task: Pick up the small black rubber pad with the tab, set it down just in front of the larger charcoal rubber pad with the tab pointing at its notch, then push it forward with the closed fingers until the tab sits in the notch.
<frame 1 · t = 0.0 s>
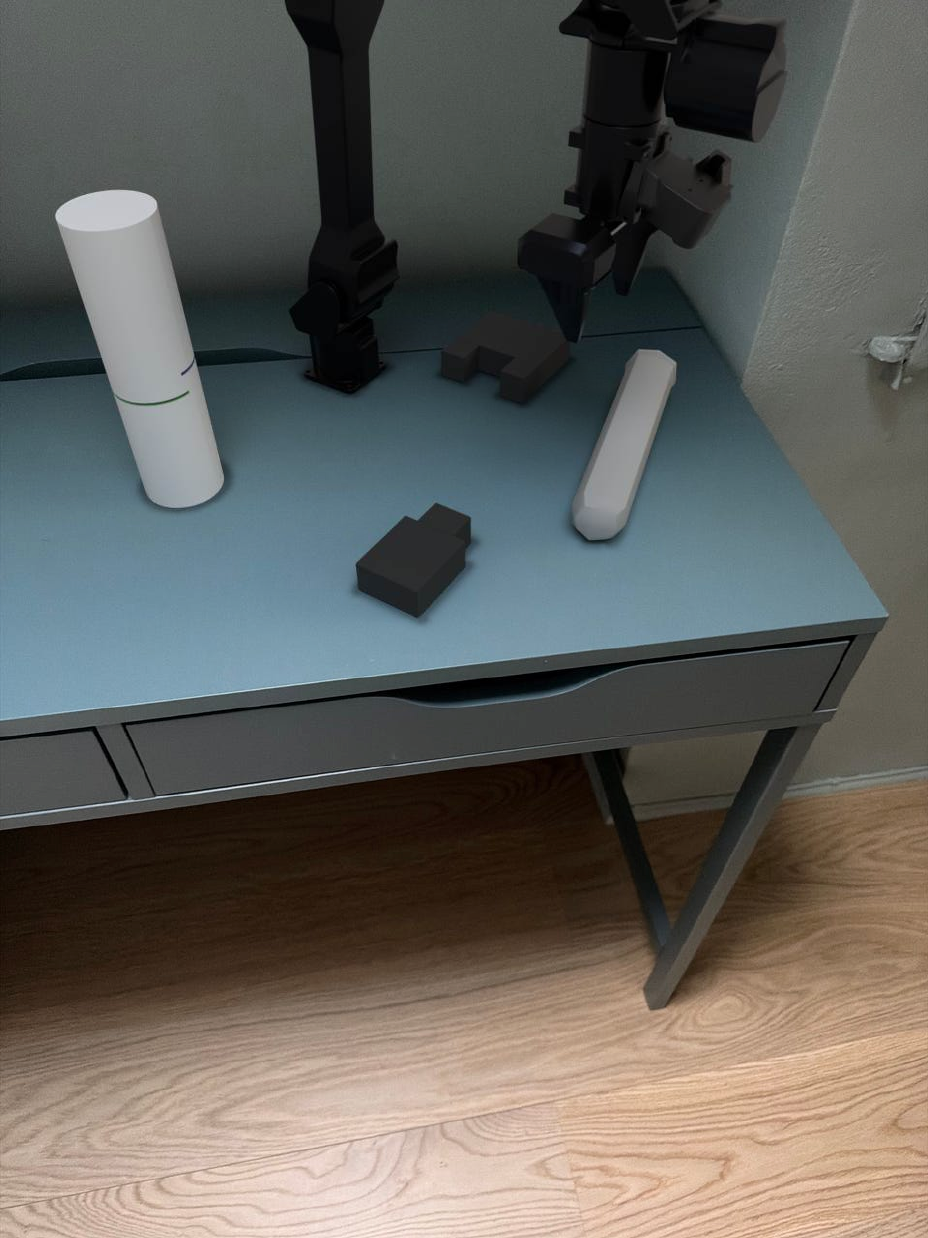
hand: (598, 317, 75), 15 cm above the table, tool pointing down, fingers open, 9 cm apart
notch pad: (505, 367, 97), on the table
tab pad: (412, 578, 75), on the table
tube: (597, 441, 84), point 2 cm above the table
cylindrical container: (185, 484, 84), on the table
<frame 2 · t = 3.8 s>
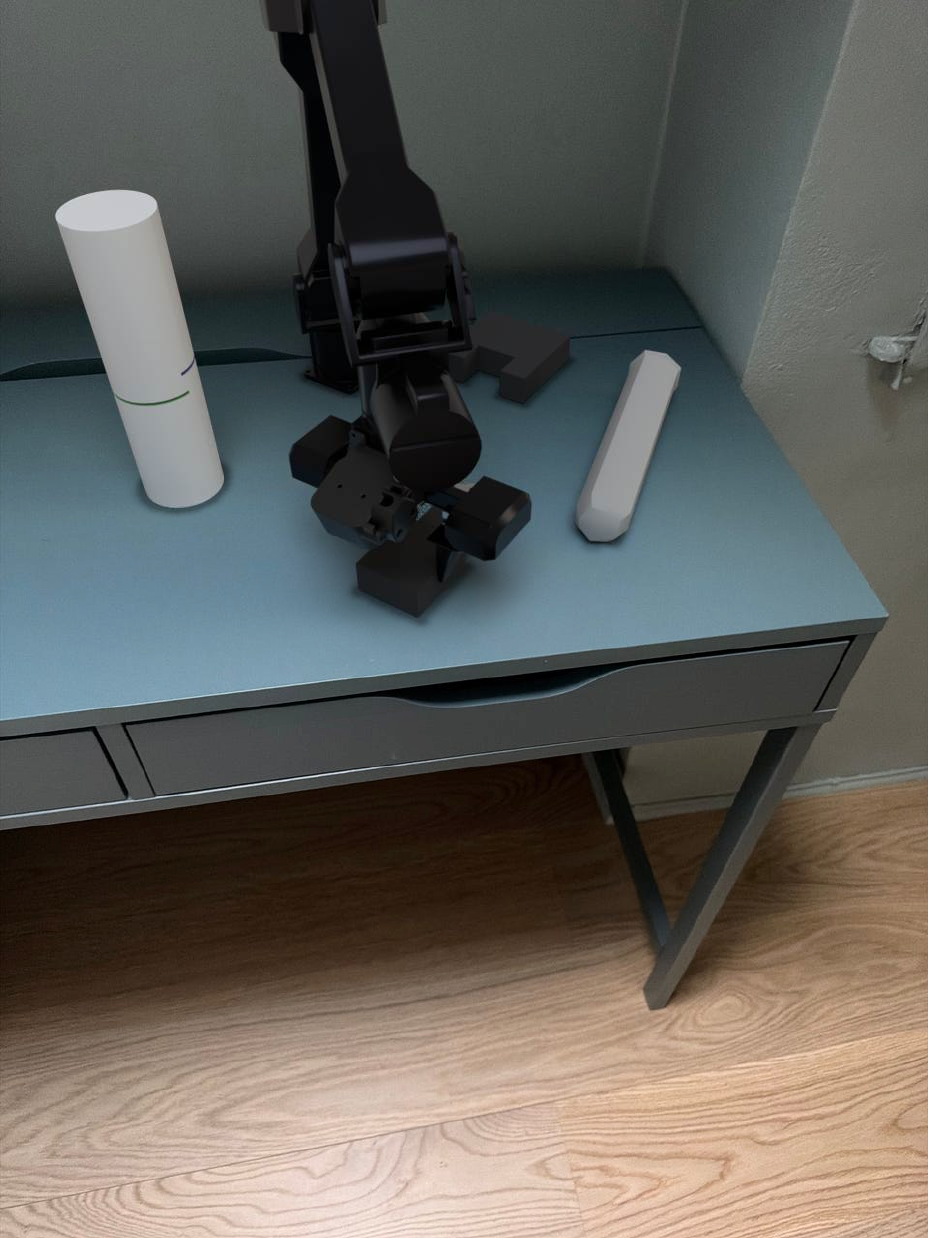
hand: (411, 564, 74), 2 cm above the table, tool pointing down, fingers closed on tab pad, 6 cm apart
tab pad: (412, 578, 75), on the table, touching gripper
tube: (600, 439, 84), point 2 cm above the table
everything else where it was.
when the fingers open (1 cm above the table, at t = 9.7 s): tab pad stays where it is, on the table.
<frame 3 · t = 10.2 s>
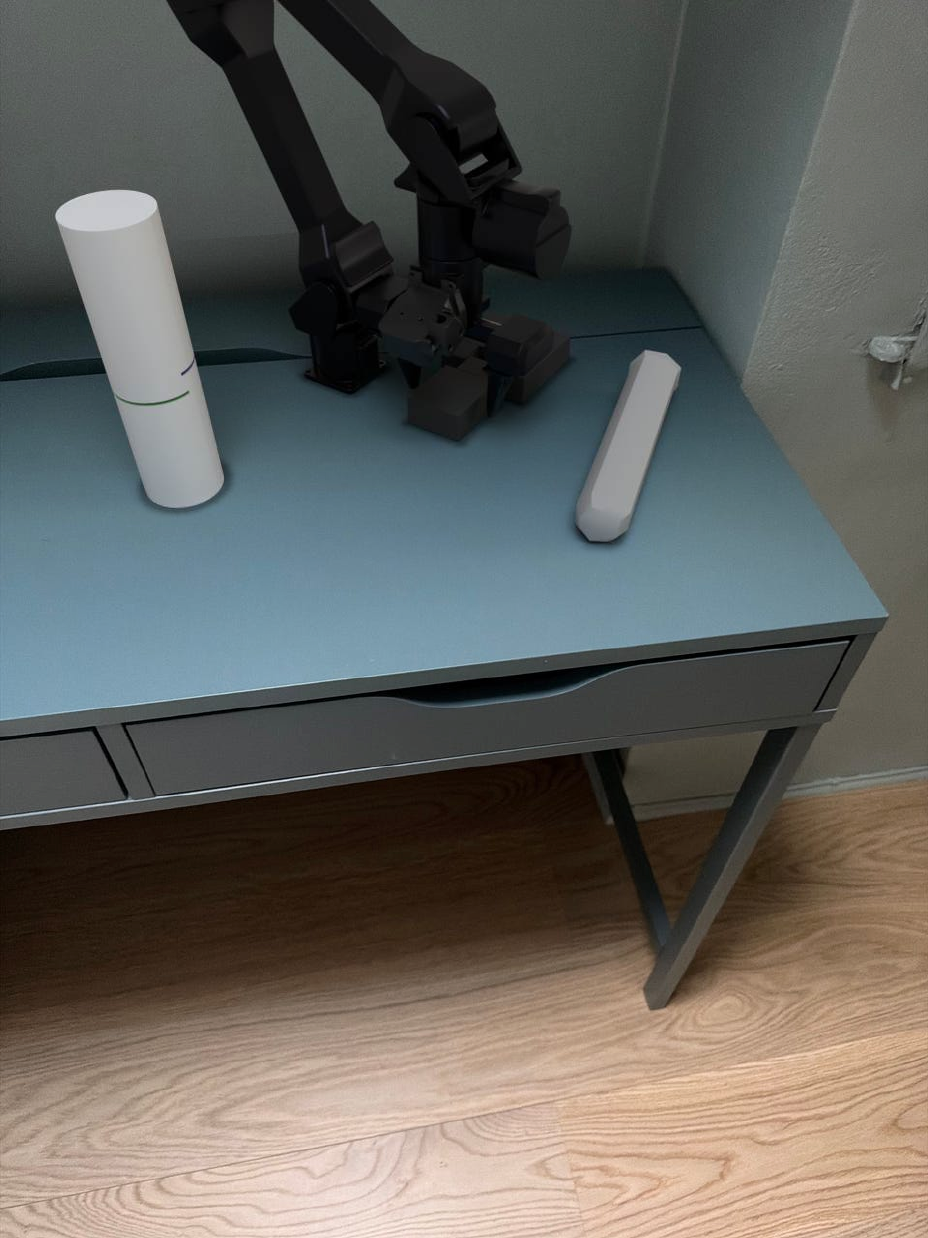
hand: (452, 401, 90), 2 cm above the table, tool pointing down, fingers open, 9 cm apart
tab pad: (452, 415, 91), on the table
everything else where it was.
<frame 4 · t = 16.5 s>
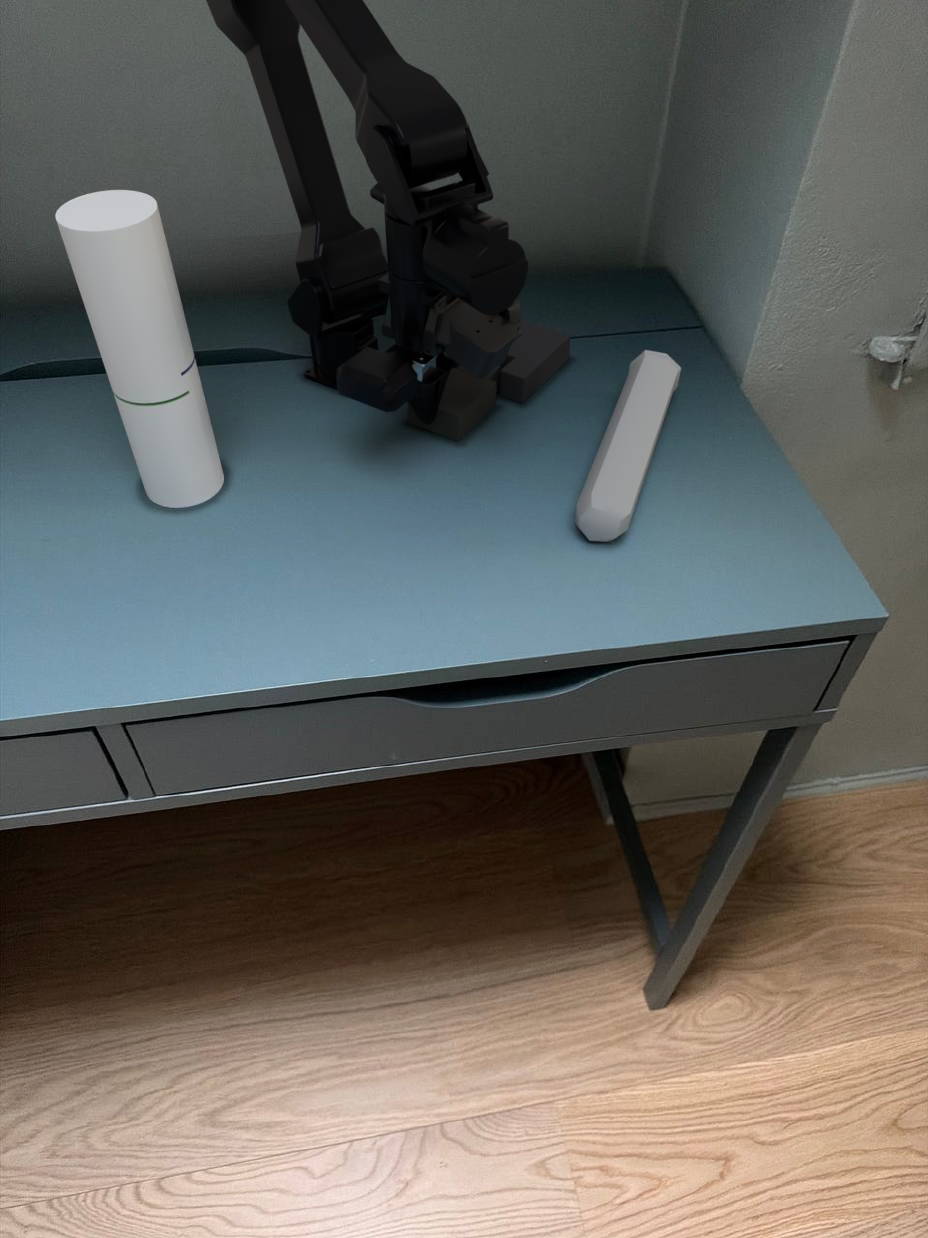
hand: (427, 421, 87), 2 cm above the table, tool pointing down, fingers closed
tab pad: (452, 415, 91), on the table, touching gripper
everything else where it was.
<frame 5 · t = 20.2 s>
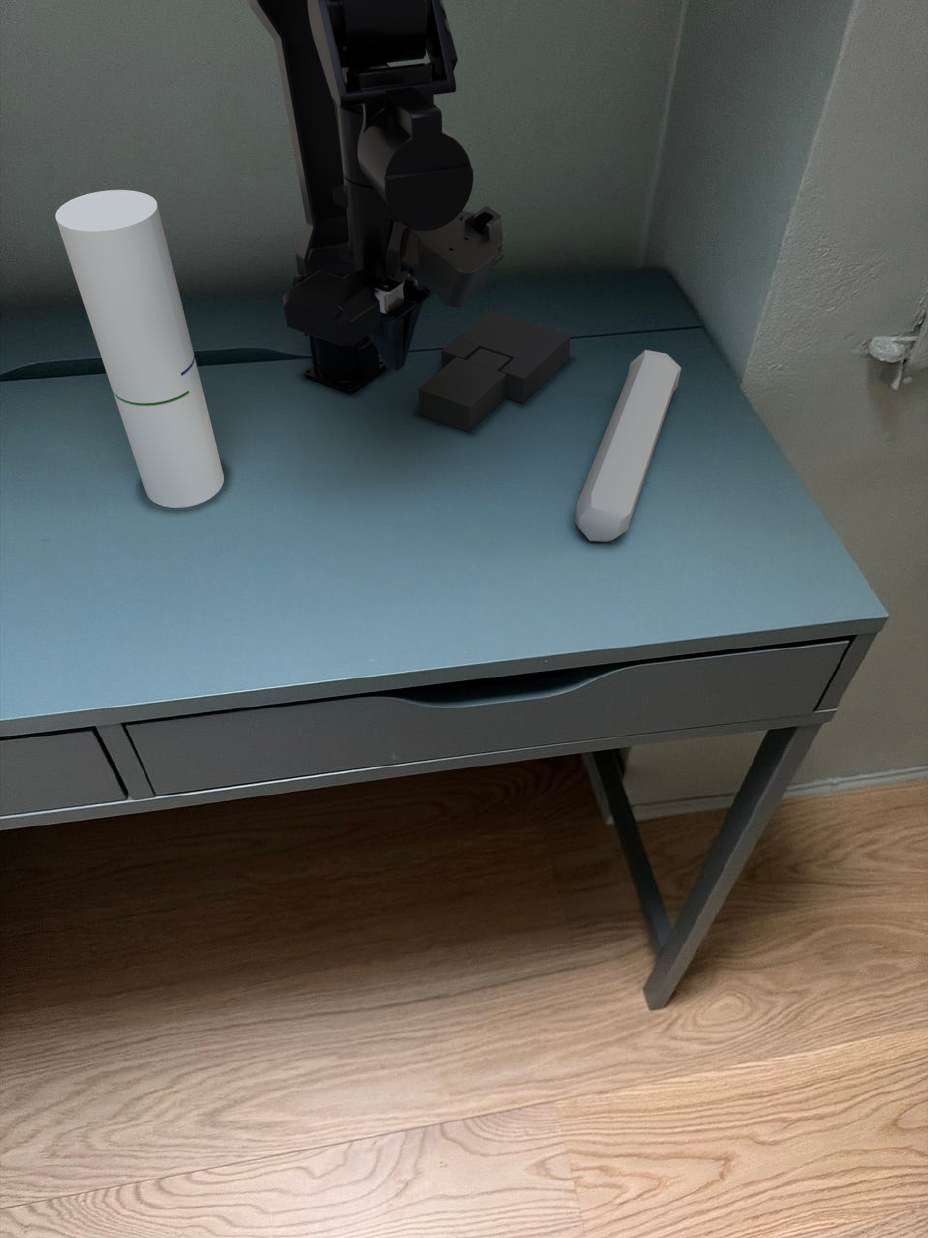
hand: (396, 367, 75), 12 cm above the table, tool pointing down, fingers closed
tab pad: (462, 406, 92), on the table
everything else where it was.
at the end: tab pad 0.2 cm from the target spot on the table beside the notch pad, on the table; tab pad tilted 0°; the gripper is holding nothing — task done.
